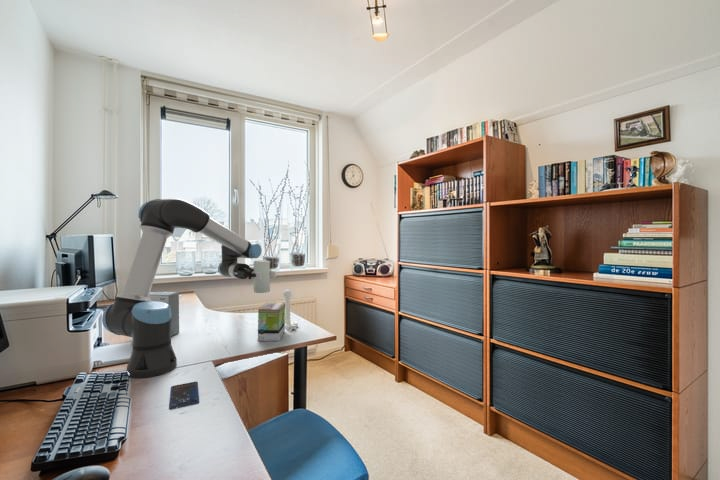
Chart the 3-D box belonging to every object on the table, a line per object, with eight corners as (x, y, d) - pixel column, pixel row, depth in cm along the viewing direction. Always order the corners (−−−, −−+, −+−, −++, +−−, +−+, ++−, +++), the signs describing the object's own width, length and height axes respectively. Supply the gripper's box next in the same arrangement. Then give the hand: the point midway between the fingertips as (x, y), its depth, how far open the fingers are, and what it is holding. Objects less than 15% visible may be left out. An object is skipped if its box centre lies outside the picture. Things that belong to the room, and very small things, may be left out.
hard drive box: (180, 332, 158) (179, 292, 158) (169, 338, 151) (169, 295, 150) (150, 331, 160) (150, 291, 160) (138, 336, 152) (138, 294, 152)
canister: (259, 293, 145) (259, 262, 144) (250, 291, 149) (250, 261, 148) (272, 291, 150) (272, 261, 150) (263, 289, 154) (263, 260, 154)
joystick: (279, 325, 172) (279, 288, 172) (293, 323, 176) (293, 286, 176) (287, 331, 163) (287, 291, 162) (301, 328, 167) (301, 290, 166)
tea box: (279, 341, 148) (279, 308, 147) (257, 341, 147) (257, 309, 147) (285, 331, 163) (285, 301, 162) (264, 331, 162) (264, 302, 162)
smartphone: (197, 380, 107) (199, 401, 94) (197, 383, 107) (199, 404, 94) (170, 385, 103) (168, 408, 90) (170, 388, 103) (168, 411, 90)
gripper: (257, 276, 168) (286, 280, 154) (220, 280, 153) (248, 286, 139) (257, 261, 168) (286, 264, 154) (220, 264, 153) (248, 268, 138)
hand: (268, 275), depth 146 cm, fingers closed on canister, 7 cm apart
